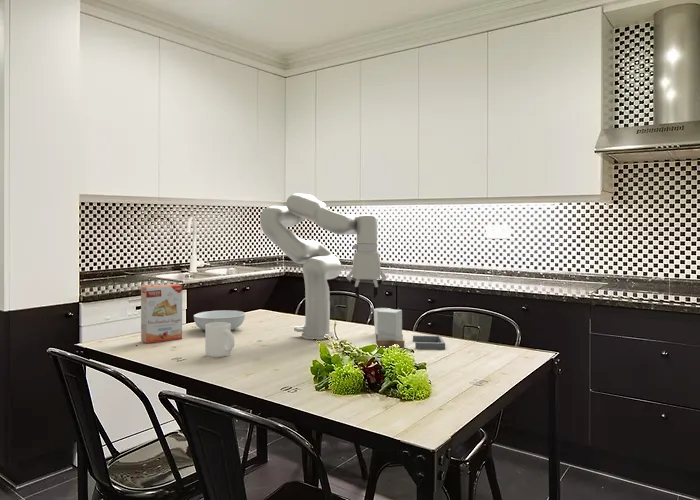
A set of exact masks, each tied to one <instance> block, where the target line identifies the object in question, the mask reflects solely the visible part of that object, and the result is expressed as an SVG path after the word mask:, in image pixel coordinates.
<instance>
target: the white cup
mask: <svg viewBox="0 0 700 500" xmlns="http://www.w3.org/2000/svg"><path fill="white" fill-rule="evenodd" d="M383 309H391V308H388V307H377V308H374V309H373V321H374V323H373V324H374V325H373V326H374V334H375V335H376V334H378V313H377V312H378V311H380V310H383Z"/></svg>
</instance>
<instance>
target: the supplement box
mask: <svg viewBox="0 0 700 500" xmlns="http://www.w3.org/2000/svg"><path fill="white" fill-rule="evenodd" d="M377 313H378V340H402V334H403V310H402V309H393V308H390V309H383V310H380V311H378V312H377Z"/></svg>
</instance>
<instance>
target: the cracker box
mask: <svg viewBox="0 0 700 500" xmlns="http://www.w3.org/2000/svg"><path fill="white" fill-rule="evenodd" d="M140 297H141V298H140V342H143V343H145V344H152V343H153V344H154V343H159V342H160V343H161V342H168V341H175V340H182V339H183V285H182V284H178V283H175V284H174V283H173V284H172V283H171V284H155V285H141V287H140Z"/></svg>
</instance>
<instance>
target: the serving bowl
mask: <svg viewBox="0 0 700 500" xmlns="http://www.w3.org/2000/svg"><path fill="white" fill-rule="evenodd" d="M245 317H246V313H245V312H244V311H240V310H229V309H228V310H225V309H224V310H223V309H222V310H211V311H201V312H198V313H196V314H193V320H194V324H195V325H196V326H197V327H198V328H200V330H204V331H205V325H206V324H208V323H214V322H226V323H230V324H231V331H232V330H234V329H237V328H239V327H240V326H241V325H242V324H243V323H244V322H245V319H246V318H245Z"/></svg>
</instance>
